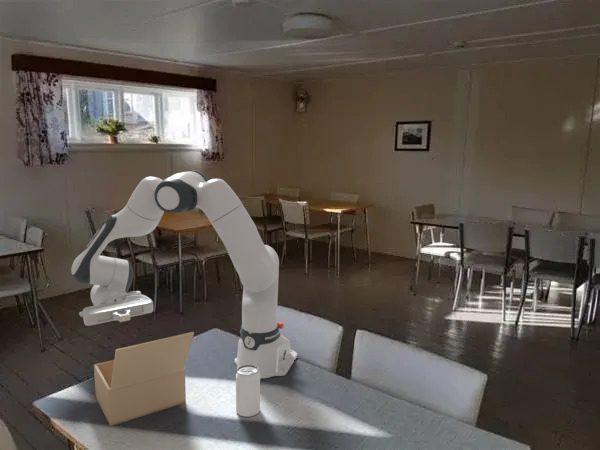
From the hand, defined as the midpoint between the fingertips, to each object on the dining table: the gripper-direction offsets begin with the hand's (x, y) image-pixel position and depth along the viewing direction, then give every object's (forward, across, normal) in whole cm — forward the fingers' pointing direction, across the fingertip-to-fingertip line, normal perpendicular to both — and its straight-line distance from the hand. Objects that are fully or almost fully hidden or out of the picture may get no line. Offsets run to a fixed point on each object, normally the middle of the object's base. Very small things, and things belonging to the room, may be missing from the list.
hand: (125, 318), depth 139 cm
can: (+34, +22, +21) cm, 45 cm away
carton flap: (+25, 0, +3) cm, 25 cm away
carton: (+13, -1, +20) cm, 23 cm away
